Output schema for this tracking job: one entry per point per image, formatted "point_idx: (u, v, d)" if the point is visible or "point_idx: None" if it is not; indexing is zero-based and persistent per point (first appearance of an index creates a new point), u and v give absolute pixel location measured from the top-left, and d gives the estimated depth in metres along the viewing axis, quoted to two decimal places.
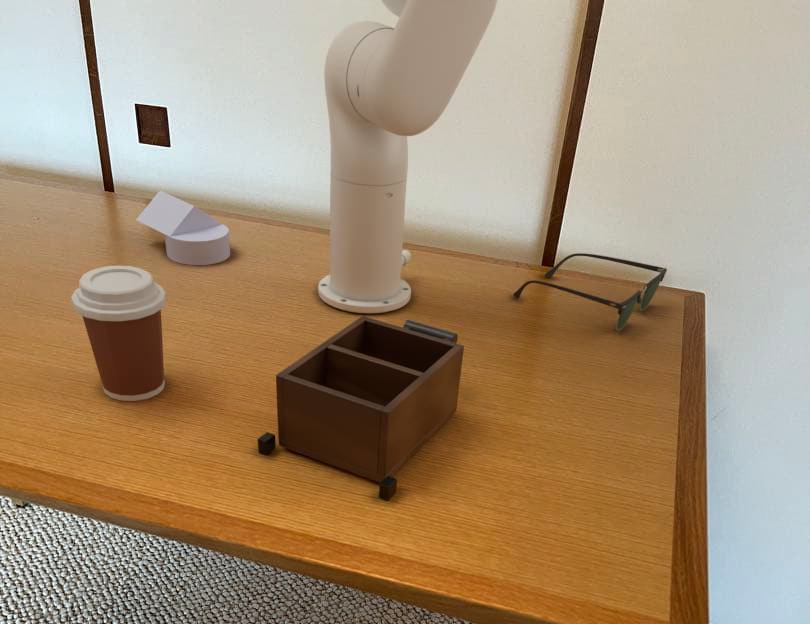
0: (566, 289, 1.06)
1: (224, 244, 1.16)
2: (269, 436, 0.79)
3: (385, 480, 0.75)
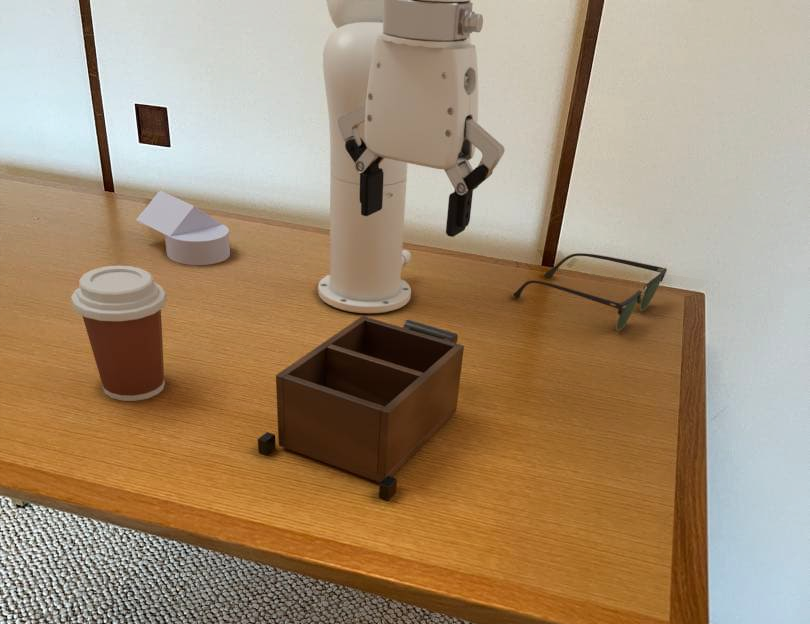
0: (566, 289, 1.06)
1: (224, 244, 1.16)
2: (269, 436, 0.79)
3: (385, 480, 0.75)
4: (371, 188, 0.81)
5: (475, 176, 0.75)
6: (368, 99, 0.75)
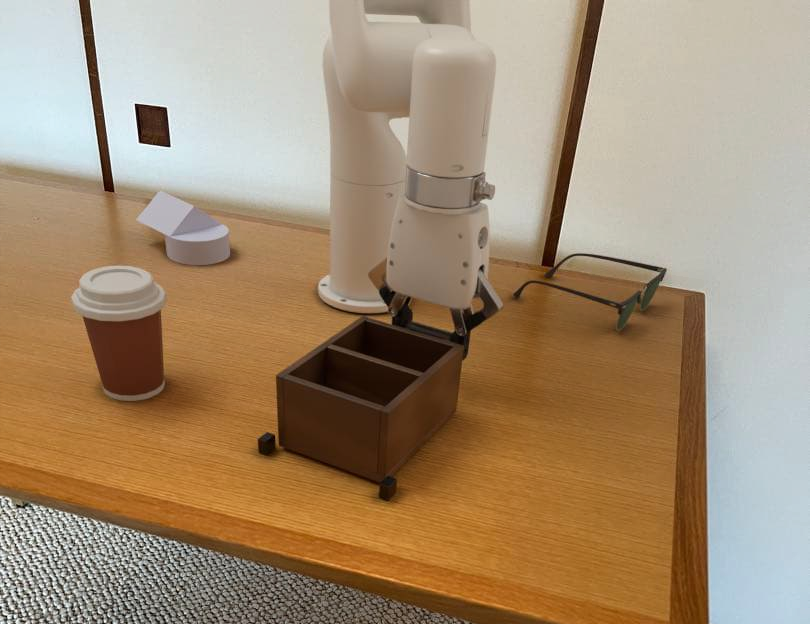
0: (566, 289, 1.06)
1: (224, 244, 1.16)
2: (269, 436, 0.79)
3: (385, 480, 0.75)
4: None
5: (473, 321, 0.85)
6: (390, 247, 0.83)
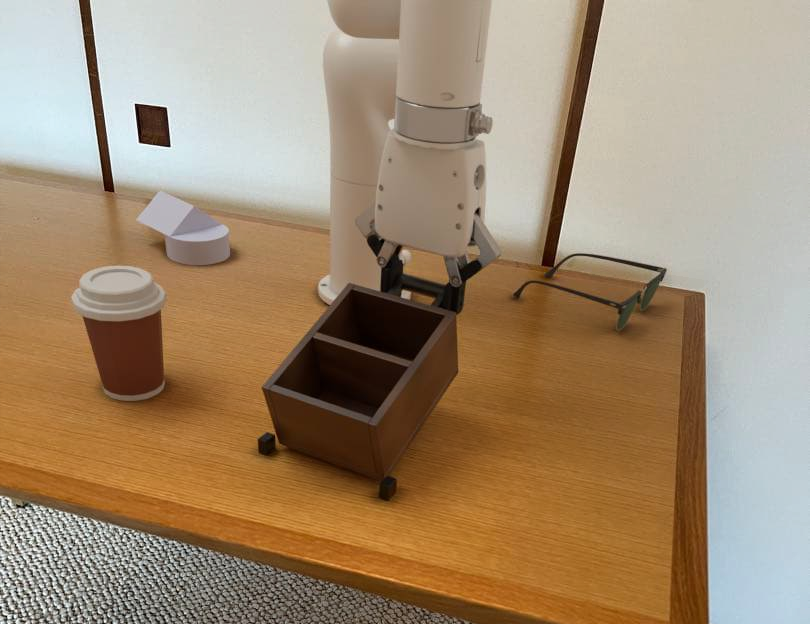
0: (566, 289, 1.06)
1: (224, 244, 1.16)
2: (269, 436, 0.79)
3: (385, 480, 0.75)
4: (392, 281, 0.83)
5: (469, 270, 0.79)
6: (379, 190, 0.77)
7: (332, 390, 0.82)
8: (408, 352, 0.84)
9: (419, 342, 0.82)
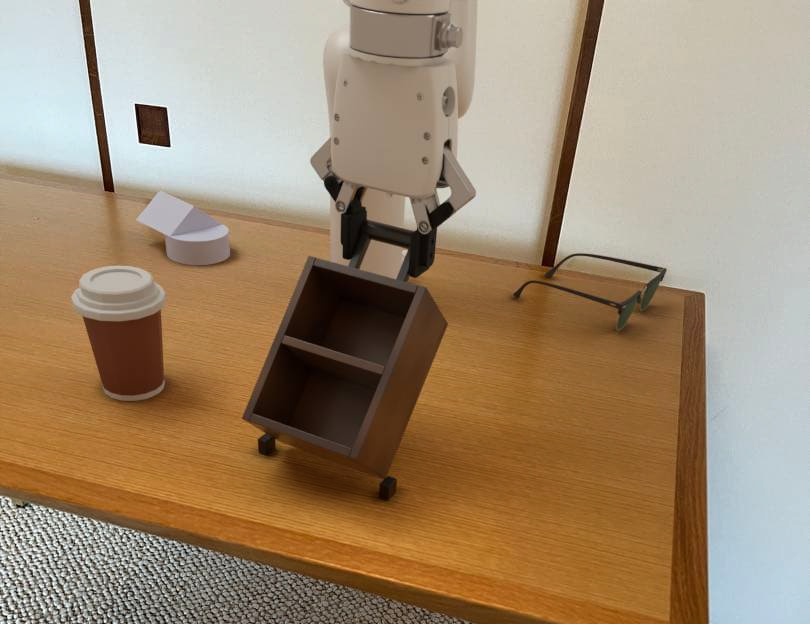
0: (566, 289, 1.06)
1: (224, 244, 1.16)
2: (269, 436, 0.79)
3: (385, 480, 0.75)
4: (353, 230, 0.73)
5: (439, 214, 0.68)
6: (334, 120, 0.67)
7: (319, 372, 0.79)
8: (391, 310, 0.77)
9: (398, 306, 0.75)
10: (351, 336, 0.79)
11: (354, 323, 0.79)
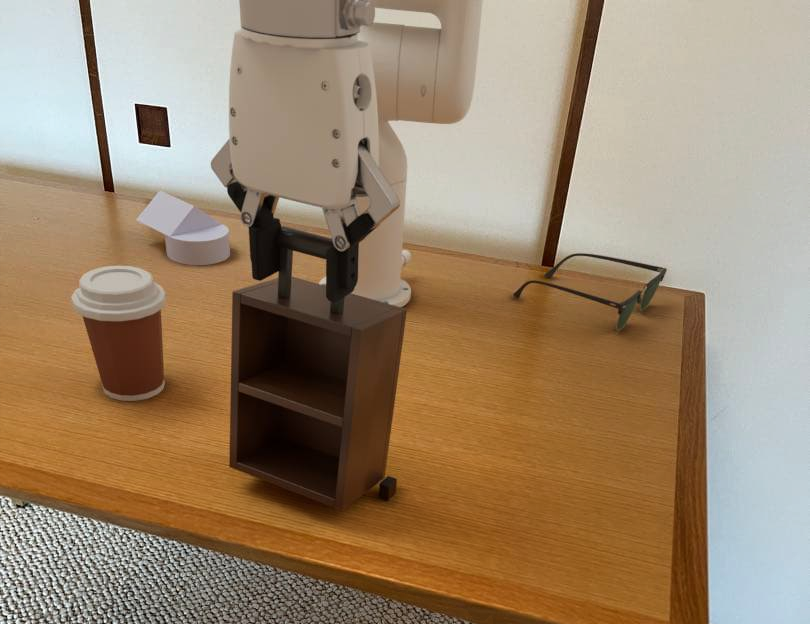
0: (566, 289, 1.06)
1: (224, 244, 1.16)
2: None
3: (385, 480, 0.75)
4: (264, 246, 0.62)
5: (357, 227, 0.57)
6: (231, 115, 0.56)
7: None
8: None
9: None
10: (311, 331, 0.72)
11: None
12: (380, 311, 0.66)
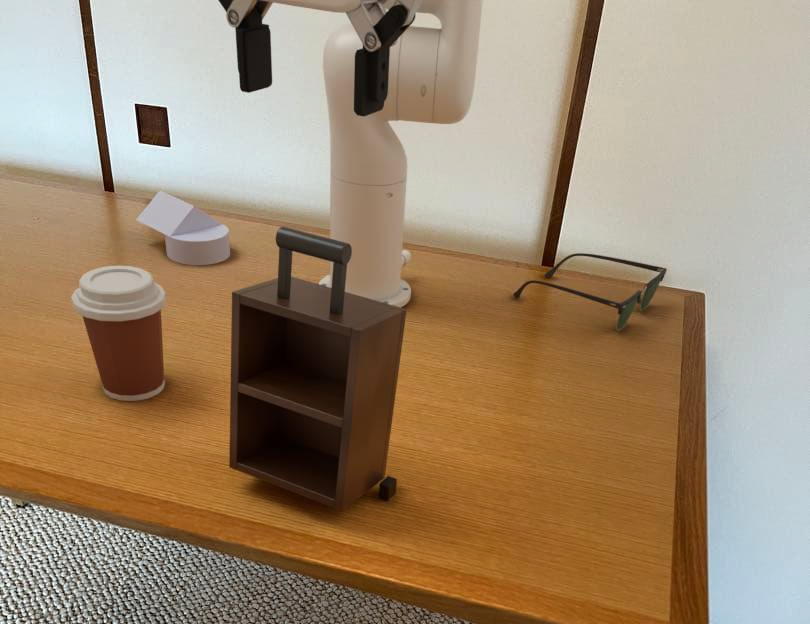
0: (566, 289, 1.06)
1: (224, 244, 1.16)
2: None
3: (385, 480, 0.75)
4: (252, 51, 0.58)
5: (390, 22, 0.53)
6: None
7: None
8: None
9: None
10: (311, 332, 0.72)
11: None
12: (380, 312, 0.66)
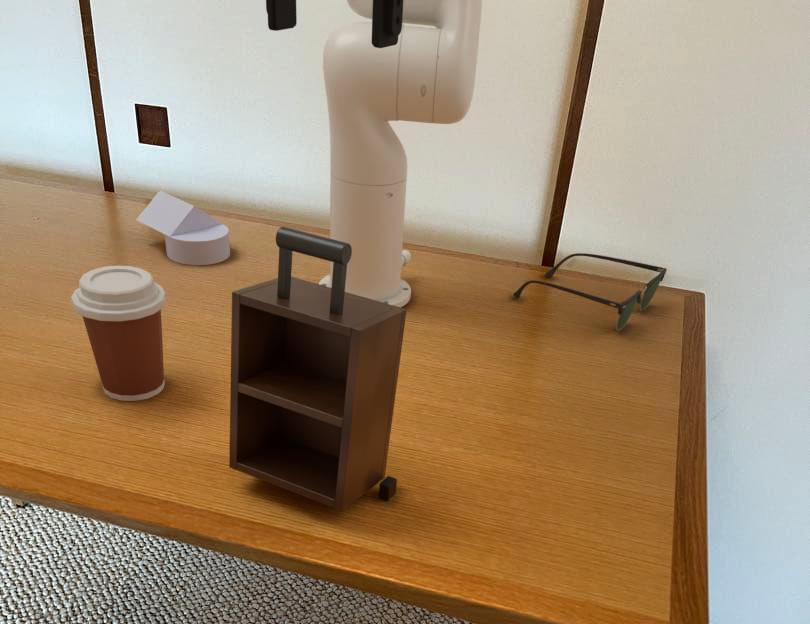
0: (566, 289, 1.06)
1: (224, 244, 1.16)
2: None
3: (385, 480, 0.75)
4: None
5: None
6: None
7: None
8: None
9: None
10: (311, 332, 0.72)
11: None
12: (380, 312, 0.66)
